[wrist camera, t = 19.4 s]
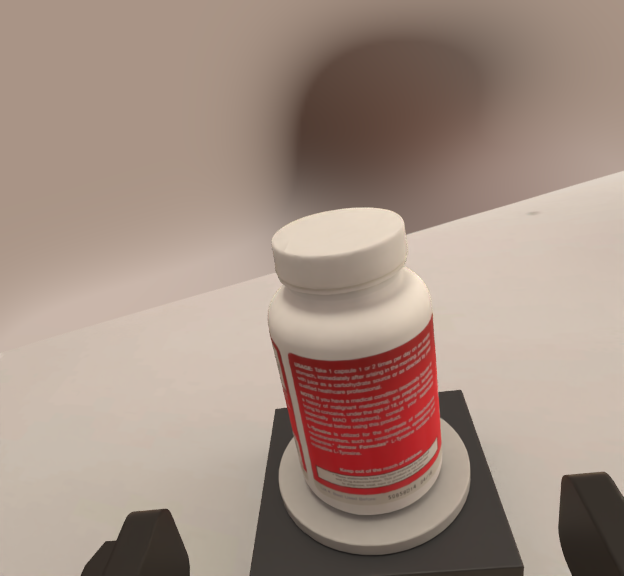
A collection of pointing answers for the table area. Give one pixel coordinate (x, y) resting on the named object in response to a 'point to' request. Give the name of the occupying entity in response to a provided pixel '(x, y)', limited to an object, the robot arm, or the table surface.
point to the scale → (387, 517)
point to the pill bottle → (357, 359)
